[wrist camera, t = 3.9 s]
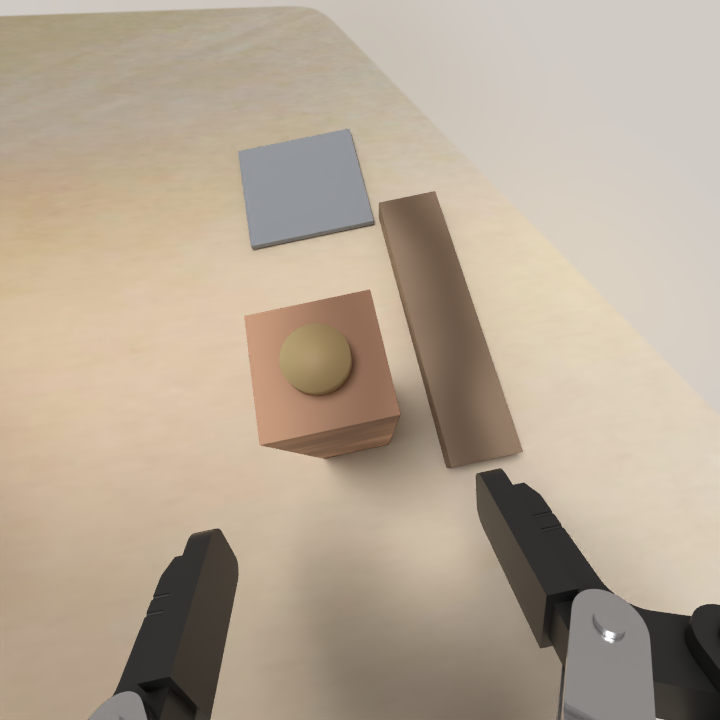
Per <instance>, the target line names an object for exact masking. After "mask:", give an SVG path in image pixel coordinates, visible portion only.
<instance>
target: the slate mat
mask: <svg viewBox="0 0 720 720" xmlns="http://www.w3.org/2000/svg"><path fill="white" fill-rule="evenodd" d="M238 153H239V160H240V168H241V175H242V183H243V190H244V198H245V205H246V213H247V220H248V227H249V235H250V242H251V247H252V249H253V250H254V249H259V248H263V247H268V246H273V245H278V244H283V243H287V242H292V241H297V240H302V239H306V238H311V237H316V236H321V235H326V234H330V233H335V232H340V231H345V230H350V229H354V228H359V227H364V226H369V225H373V224H374V220H373V216H372V213H371V209H370V205H369V201H368V197H367V194H366V190H365V186H364V182H363V178H362V175H361V171H360V167H359V163H358V160H357V156H356V152H355V148H354V144H353V141H352V137H351V133H350V129H345V130H340V131H335V132H330V133H326V134H321V135H316V136H311V137H306V138H301V139H296V140H291V141H287V142H282V143H277V144H272V145H267V146H262V147H257V148H252V149H247V150H243V151H238Z"/></svg>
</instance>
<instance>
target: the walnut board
mask: <svg viewBox="0 0 720 720" xmlns="http://www.w3.org/2000/svg"><path fill="white" fill-rule="evenodd" d="M379 220H380V223H381V227H382V231H383V234H384V238H385V242H386V246H387V249H388V253H389V257H390V260H391V264H392V268H393V271H394V275H395V279H396V282H397V286H398V290H399V294H400V297H401V301H402V305H403V308H404V312H405V316H406V319H407V323H408V327H409V331H410V334H411V338H412V342H413V345H414V349H415V353H416V356H417V360H418V364H419V368H420V371H421V375H422V379H423V382H424V386H425V390H426V393H427V397H428V401H429V404H430V408H431V412H432V416H433V419H434V423H435V427H436V430H437V434H438V438H439V441H440V445H441V449H442V453H443V456H444V460H445V464H446V467H447V468H452V467H456V466H461V465H465V464H470V463H474V462H479V461H484V460H488V459H493V458H497V457H502V456H506V455H511V454H515V453H520V452H523V450H522V447H521V444H520V441H519V439H518V436H517V433H516V430H515V427H514V424H513V421H512V418H511V415H510V412H509V409H508V406H507V403H506V400H505V397H504V394H503V391H502V388H501V385H500V382H499V379H498V376H497V373H496V370H495V367H494V364H493V362H492V359H491V356H490V353H489V350H488V347H487V344H486V341H485V338H484V335H483V332H482V329H481V326H480V323H479V320H478V317H477V314H476V311H475V308H474V305H473V302H472V299H471V296H470V293H469V290H468V287H467V285H466V282H465V279H464V276H463V273H462V270H461V267H460V264H459V261H458V258H457V255H456V252H455V249H454V246H453V243H452V240H451V237H450V234H449V231H448V228H447V225H446V222H445V219H444V216H443V213H442V210H441V208H440V205H439V202H438V199H437V196H436V193H435V191H434V192H429V193H424V194H419V195H415V196H410V197H405V198H400V199H395V200H390V201H386V202H381V203H379Z"/></svg>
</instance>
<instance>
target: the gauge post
mask: <svg viewBox="0 0 720 720" xmlns="http://www.w3.org/2000/svg"><path fill="white" fill-rule="evenodd" d="M244 317H245V326H246V334H247V342H248V351H249V359H250V367H251V376H252V384H253V393H254V401H255V409H256V418H257V426H258V434H259V443H260V445H261V446H266V447H271V448H276V449H280V450H285V451H290V452H295V453H300V454H304V455H309V456H314V457H319V458H328V457H333V456H337V455H342V454H346V453H351V452H356V451H360V450H365V449H369V448H374V447H379V446H383V445H388V444H389V442H390V440H391V437H392V435H393V432H394V430H395V427H396V425H397V422H398V420H399V417H400V411H399V407H398V402H397V398H396V394H395V390H394V386H393V382H392V378H391V374H390V370H389V365H388V361H387V357H386V353H385V349H384V345H383V341H382V337H381V333H380V328H379V324H378V320H377V316H376V312H375V308H374V304H373V300H372V296H371V291H370V290H366V291H361V292H356V293H351V294H347V295H342V296H337V297H332V298H328V299H323V300H318V301H314V302H309V303H304V304H299V305H295V306H290V307H285V308H280V309H276V310H271V311H266V312H262V313H257V314H252V315H247V316H244Z"/></svg>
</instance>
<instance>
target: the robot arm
mask: <svg viewBox="0 0 720 720" xmlns="http://www.w3.org/2000/svg"><path fill="white" fill-rule="evenodd" d="M476 495H477V510H478V514H479V518H480V521H481V524H482V526H483V529H484V531H485V533H486V535H487V537H488V539H489V541H490V543H491V545H492V548H493V550H494V552H495V554H496V556H497V558H498V560H499V562H500V564H501V566H502V569H503V571H504V573H505V575H506V577H507V579H508V581H509V583H510V585H511V588H512V590H513V592H514V594H515V596H516V598H517V600H518V602H519V604H520V607H521V609H522V611H523V613H524V615H525V617H526V619H527V621H528V623H529V625H530V628H531V630H532V632H533V634H534V636H535V638H536V640H537V642H538V644H539V647H540V648H544V647H549V646H553V647H554V649H555V651H556V653H557V655H558V657H559V659H560V661H561V663H562V664H561V674H560V685H559V695H558V706H557V716H556V720H656V718H659V719H664V720H720V605H716V604H706V605H703V606H700V607H698V608H697V609H696V610H695V611H694V612H693V614H692V616H686V615H678V614H671V613H664V612H657V611H650V610H645V609H642V608H639V607H636V606H634V605H632V604H629V603H628V602H626V601H625V600H624V599H622V598H620V597H619V596H617V595H615V594H614V593H613V592H611V591H610V590H609V589H608V588H607V587H606V586H605V585H604V584H603V582H602V581H601V580H600V579H599V577H598V576H597V574H596V573H595V571H594V570H593V569H592V567H591V566H590V564H589V563H588V562H587V560H586V559H585V557H584V556H583V554H582V553H581V552H580V550H579V549H578V547H577V546H576V545H575V543H574V542H573V540H572V539H571V537H570V536H569V535H568V533H567V532H566V530H565V529H564V528H562V526H561V523H560V522H559V520H558V519H557V518H556V516H555V515H554V514H553V513H552V511H551V509H550V508H549V506H548V505H547V503H546V502H545V501H544V499H543V498H542V496H541V495H540V494H539V493H537V492H536V491H535V490H533V489H532V488H531V487H529V486H528V485H527V484H525V483H520V484H515V485H513V484H512V483H511V481H510V480H509V478H508V477H507V475H506V474H505V472H504V471H503V470H502V469H495V470H490V471H486V472H481V473H477V474H476ZM237 582H238V563H237V559H236V557H235V555H234V553H233V551H232V549H231V548H230V546H229V544H228V542H227V540H226V539H225V537H224V535H223V533H222V531H221V530H220V529H212V530H208V531H203V532H198V533H194V534H192V535H191V536H190V537H189V539H188V542H187V545H186V547H185V550H184V553H183V555H182V556H178V557H175V558H174V559H173V560H172V562H171V563H170V565H169V566H168V567H167V569H166V570H165V571H164V573H163V574H162V575H161V578H160V580H159V583H158V585H157V588H156V590H155V593H154V595H153V597H154V599H153V600H152V601H151V603H150V606H149V608H148V611H147V617H145V618H144V621H143V623H142V626H141V629H140V631H139V634H138V636H137V639H136V641H135V644H134V646H133V649H132V651H131V654H130V656H129V659H128V662H127V664H126V667H125V669H124V672H123V674H122V677H121V679H120V682H119V684H118V686H117V689H116V691H115V693H114V694H113V696H112V697H111V698H110V699H108V700H107V701H106V702H104V703H103V704H102V705H101V706H100V707H99V708H98V709H97V710H96V711H95V712H94V713H93V714H92V715H91V716H90V718H89V719H88V720H210V718H211V713H212V708H213V703H214V698H215V693H216V688H217V683H218V678H219V672H220V667H221V662H222V657H223V652H224V647H225V642H226V637H227V632H228V627H229V622H230V617H231V612H232V607H233V602H234V597H235V592H236V587H237Z"/></svg>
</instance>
